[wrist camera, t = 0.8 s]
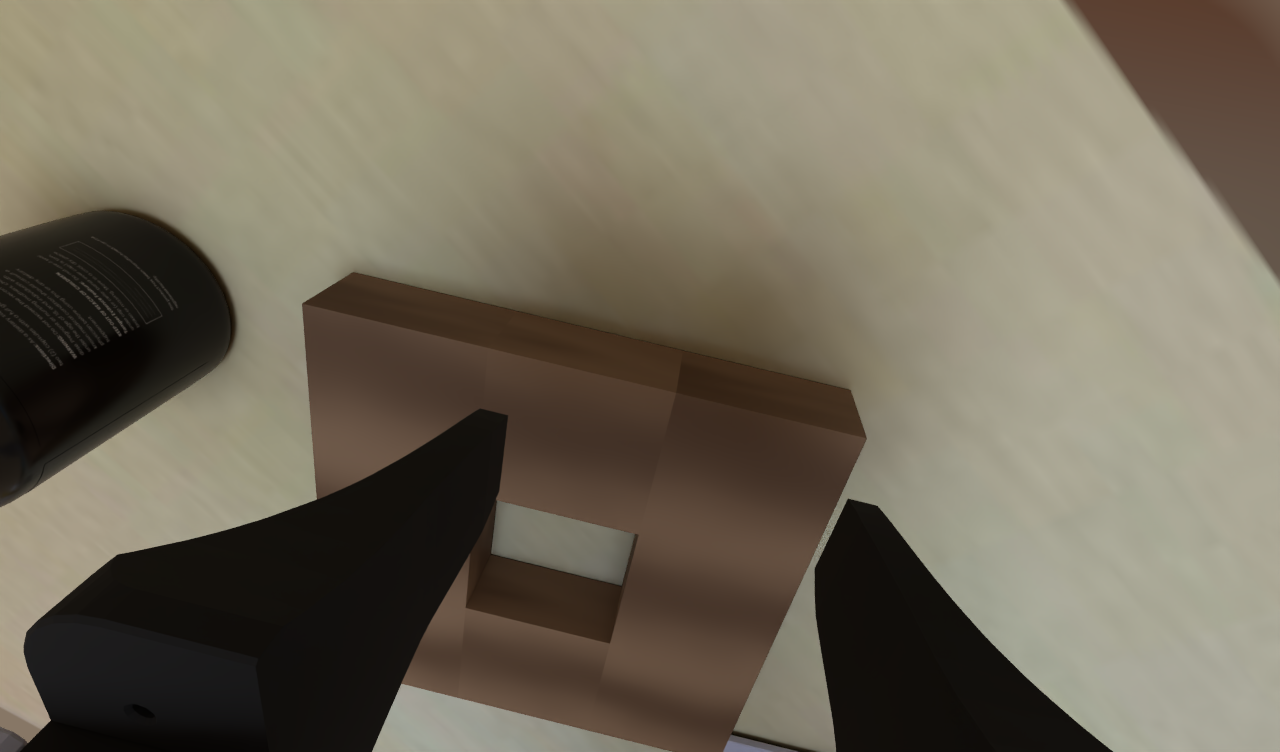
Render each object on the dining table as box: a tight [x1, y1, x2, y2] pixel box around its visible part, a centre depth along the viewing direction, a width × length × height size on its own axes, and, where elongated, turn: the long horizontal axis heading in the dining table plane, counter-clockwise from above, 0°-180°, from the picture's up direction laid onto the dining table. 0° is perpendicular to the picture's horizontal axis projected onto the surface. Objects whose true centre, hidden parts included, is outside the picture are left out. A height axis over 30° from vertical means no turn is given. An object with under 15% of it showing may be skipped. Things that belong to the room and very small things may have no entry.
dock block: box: [302, 273, 867, 752], centre depth 25 cm, size 18×18×3 cm
